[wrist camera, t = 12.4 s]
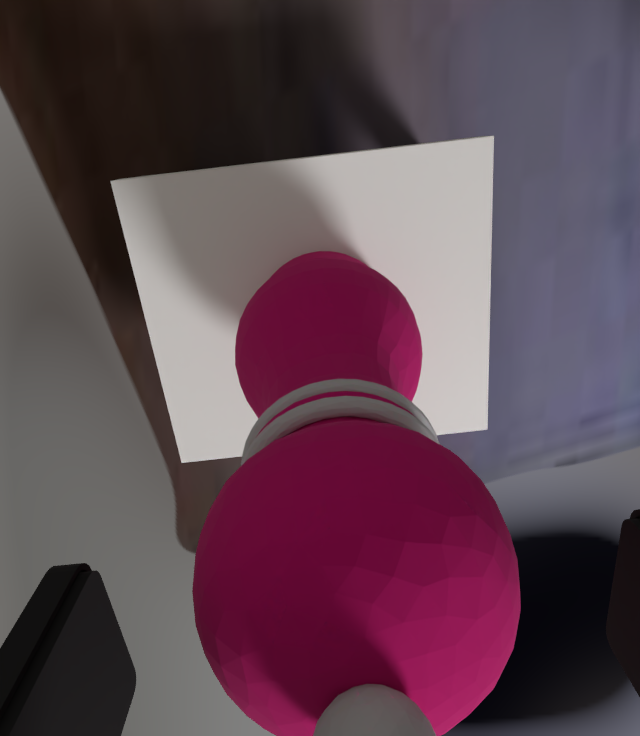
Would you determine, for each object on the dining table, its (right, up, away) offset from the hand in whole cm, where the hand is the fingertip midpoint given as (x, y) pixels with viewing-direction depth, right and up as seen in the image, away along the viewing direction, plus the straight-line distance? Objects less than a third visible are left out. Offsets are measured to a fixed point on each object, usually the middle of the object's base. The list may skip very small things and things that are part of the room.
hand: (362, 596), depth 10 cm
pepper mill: (-1, +7, +15) cm, 17 cm away
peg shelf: (-1, +10, +24) cm, 26 cm away
